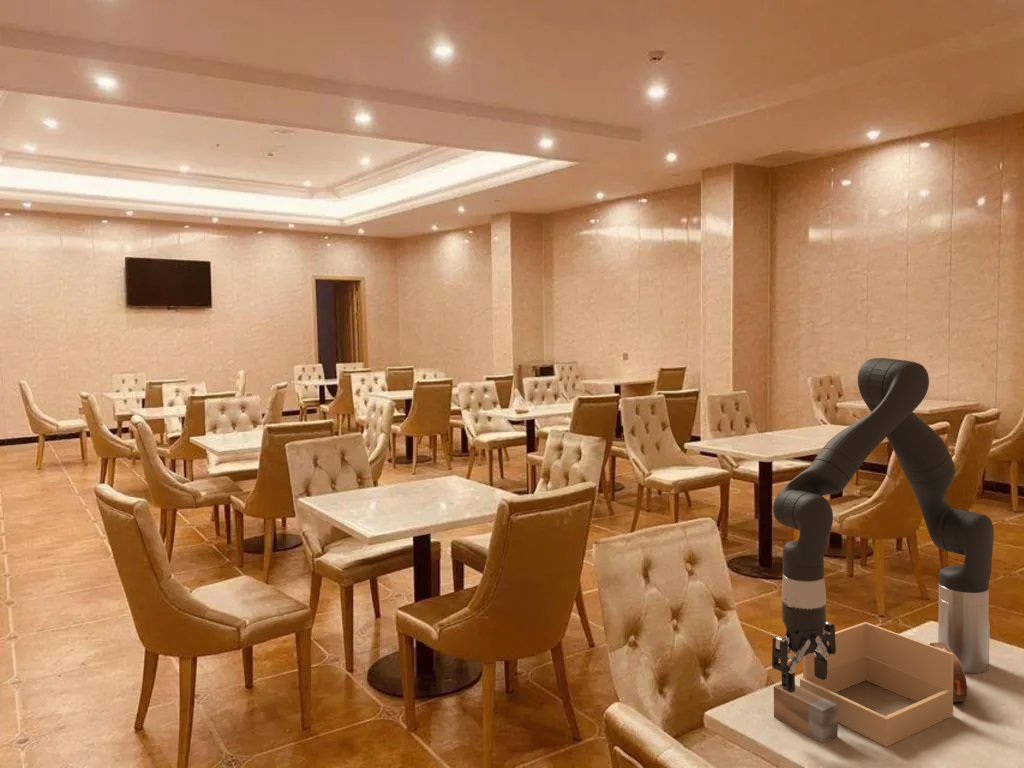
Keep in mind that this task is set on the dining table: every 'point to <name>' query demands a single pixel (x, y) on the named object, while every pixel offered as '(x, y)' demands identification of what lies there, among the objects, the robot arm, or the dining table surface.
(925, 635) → the dining table surface
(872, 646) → the carton
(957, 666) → the tin
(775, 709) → the box
